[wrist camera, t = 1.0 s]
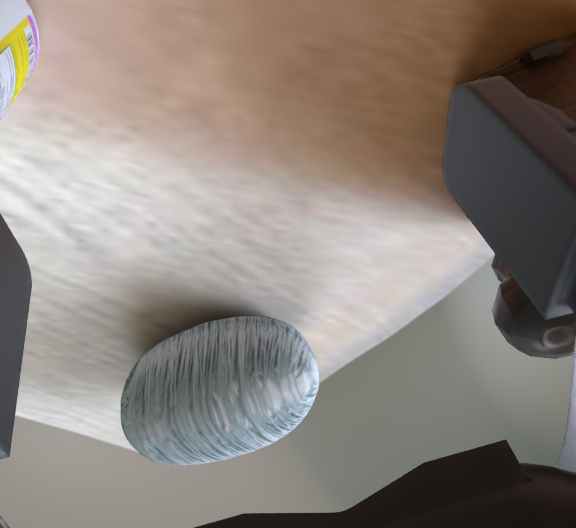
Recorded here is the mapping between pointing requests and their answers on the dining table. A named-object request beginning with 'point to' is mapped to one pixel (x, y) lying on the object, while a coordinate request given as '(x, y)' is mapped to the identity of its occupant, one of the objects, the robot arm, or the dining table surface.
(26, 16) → the supplement bottle
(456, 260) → the dining table surface
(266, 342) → the grey yarn ball
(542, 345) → the manual coffee grinder
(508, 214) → the robot arm
